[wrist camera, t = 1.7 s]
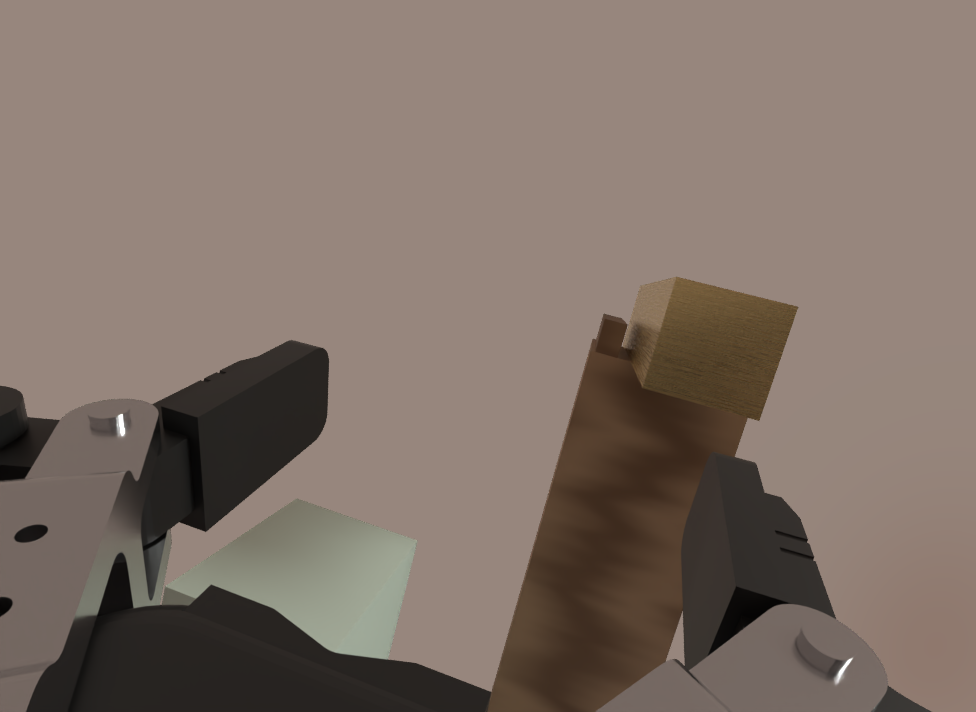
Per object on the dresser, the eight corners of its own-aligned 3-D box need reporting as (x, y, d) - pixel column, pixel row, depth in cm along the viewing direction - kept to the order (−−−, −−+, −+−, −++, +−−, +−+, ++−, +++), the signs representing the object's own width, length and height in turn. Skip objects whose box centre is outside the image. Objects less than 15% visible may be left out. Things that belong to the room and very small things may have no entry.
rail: (684, 361, 32) (703, 301, 31) (759, 420, 17) (798, 306, 16) (622, 345, 32) (640, 285, 32) (642, 388, 17) (676, 276, 17)
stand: (561, 860, 35) (728, 346, 30) (551, 996, 28) (766, 361, 23) (456, 815, 36) (600, 312, 31) (422, 935, 29) (600, 317, 24)
